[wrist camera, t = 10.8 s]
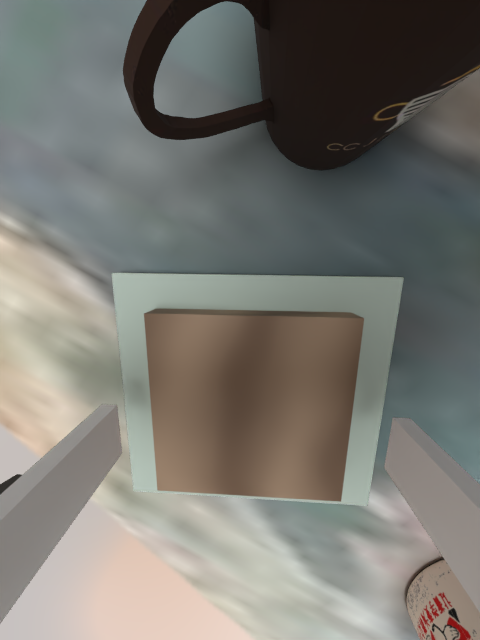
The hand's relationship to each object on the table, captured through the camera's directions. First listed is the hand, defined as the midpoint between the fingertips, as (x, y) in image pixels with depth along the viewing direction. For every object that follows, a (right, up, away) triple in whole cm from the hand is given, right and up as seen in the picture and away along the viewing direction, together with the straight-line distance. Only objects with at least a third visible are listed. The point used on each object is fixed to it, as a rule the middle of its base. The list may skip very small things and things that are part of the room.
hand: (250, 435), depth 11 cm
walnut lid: (0, +1, +3) cm, 3 cm away
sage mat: (0, +1, +4) cm, 4 cm away
